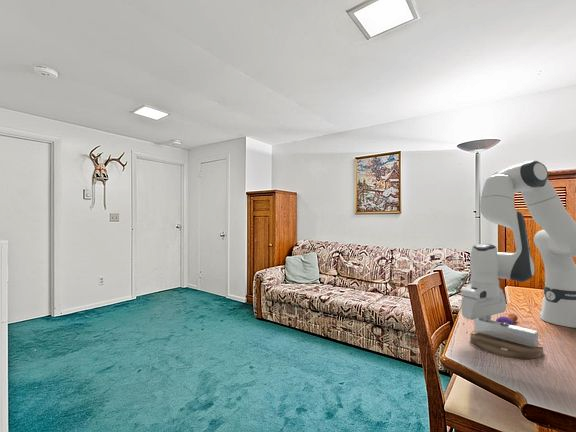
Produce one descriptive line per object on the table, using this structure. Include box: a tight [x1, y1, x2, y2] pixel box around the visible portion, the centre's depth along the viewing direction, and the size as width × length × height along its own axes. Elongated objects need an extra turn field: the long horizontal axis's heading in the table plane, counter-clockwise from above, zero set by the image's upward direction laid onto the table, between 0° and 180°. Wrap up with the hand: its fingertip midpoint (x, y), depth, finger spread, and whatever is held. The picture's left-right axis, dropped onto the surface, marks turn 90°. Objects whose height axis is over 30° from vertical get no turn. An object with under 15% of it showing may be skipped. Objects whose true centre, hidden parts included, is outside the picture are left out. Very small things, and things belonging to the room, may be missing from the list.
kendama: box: [495, 313, 518, 326], centre depth 120 cm, size 6×6×20 cm
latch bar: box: [474, 318, 539, 348], centre depth 103 cm, size 17×4×5 cm, turn 38°
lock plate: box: [469, 330, 544, 361], centre depth 103 cm, size 20×20×3 cm
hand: (484, 327), depth 109 cm, fingers closed, pressing on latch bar
